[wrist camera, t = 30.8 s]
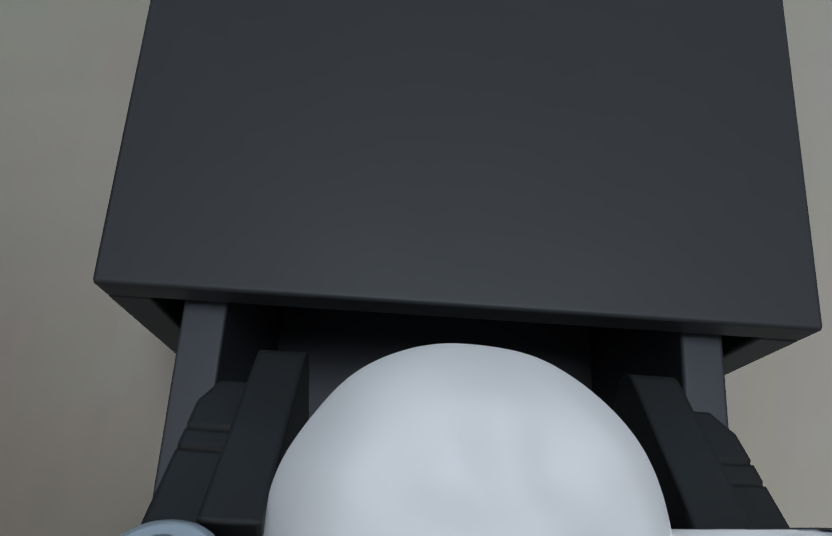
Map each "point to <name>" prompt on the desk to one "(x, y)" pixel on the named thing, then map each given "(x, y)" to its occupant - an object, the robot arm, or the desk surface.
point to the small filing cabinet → (468, 165)
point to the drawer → (389, 333)
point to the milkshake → (470, 456)
